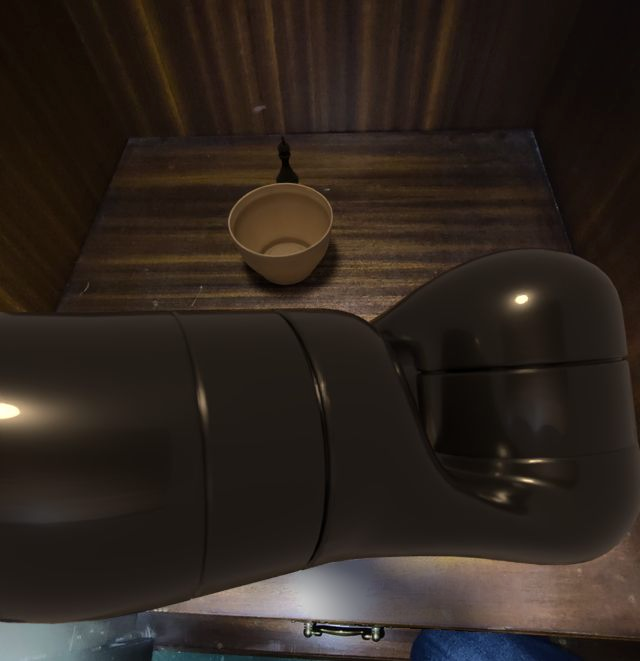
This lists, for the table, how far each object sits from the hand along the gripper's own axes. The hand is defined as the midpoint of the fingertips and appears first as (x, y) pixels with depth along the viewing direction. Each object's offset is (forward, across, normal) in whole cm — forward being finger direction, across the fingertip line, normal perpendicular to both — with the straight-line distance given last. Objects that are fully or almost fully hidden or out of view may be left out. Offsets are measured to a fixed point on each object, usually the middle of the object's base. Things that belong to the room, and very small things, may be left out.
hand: (189, 398), depth 45 cm
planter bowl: (+30, -35, +6) cm, 47 cm away
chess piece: (+40, -53, -3) cm, 66 cm away
